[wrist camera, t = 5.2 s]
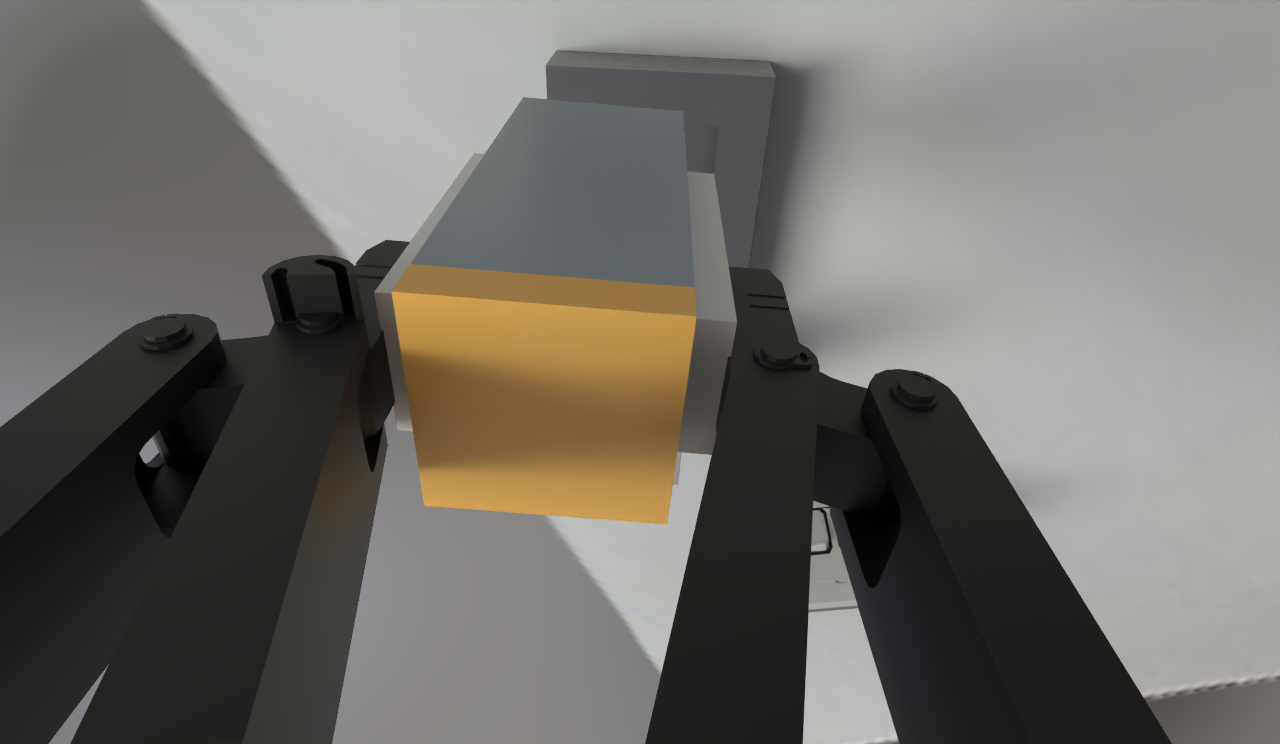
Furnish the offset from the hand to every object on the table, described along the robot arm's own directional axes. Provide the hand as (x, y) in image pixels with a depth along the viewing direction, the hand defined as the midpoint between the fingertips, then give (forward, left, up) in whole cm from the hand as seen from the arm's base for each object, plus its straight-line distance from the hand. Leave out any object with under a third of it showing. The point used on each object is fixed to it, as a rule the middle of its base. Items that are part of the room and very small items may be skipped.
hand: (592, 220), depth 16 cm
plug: (0, 0, -2) cm, 2 cm away
